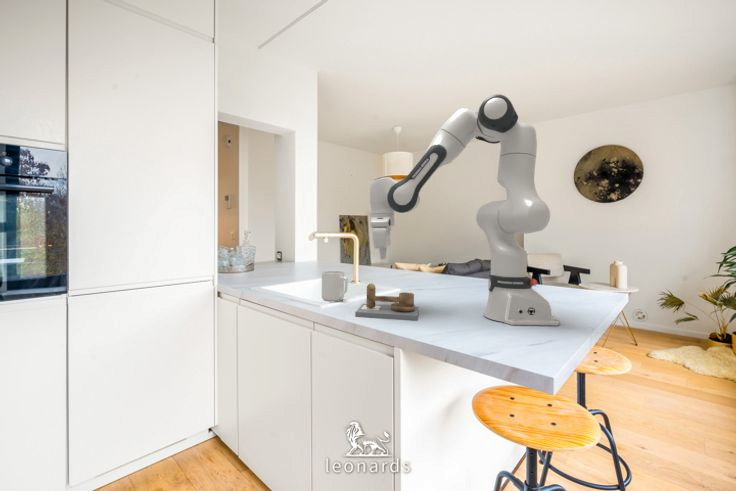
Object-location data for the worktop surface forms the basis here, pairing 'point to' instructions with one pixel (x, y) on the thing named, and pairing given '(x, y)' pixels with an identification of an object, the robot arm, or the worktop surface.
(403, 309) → the brown wooden piece
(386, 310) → the stand
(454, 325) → the worktop surface
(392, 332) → the worktop surface
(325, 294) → the mug
